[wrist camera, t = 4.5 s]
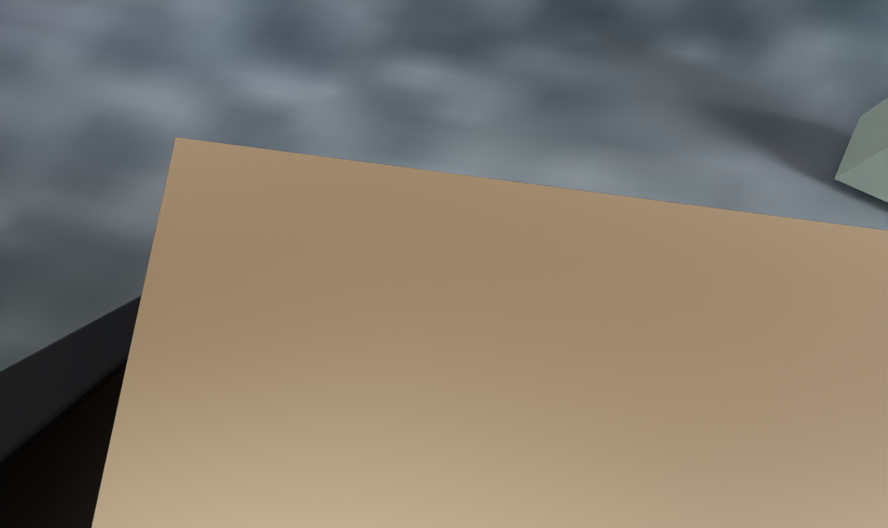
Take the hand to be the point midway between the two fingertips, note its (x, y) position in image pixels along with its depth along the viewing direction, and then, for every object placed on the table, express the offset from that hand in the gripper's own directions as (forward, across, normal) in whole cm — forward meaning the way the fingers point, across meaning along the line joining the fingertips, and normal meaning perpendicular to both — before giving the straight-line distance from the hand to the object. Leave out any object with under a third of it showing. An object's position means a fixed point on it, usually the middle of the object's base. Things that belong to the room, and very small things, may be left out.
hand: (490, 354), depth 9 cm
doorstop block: (+4, 0, +6) cm, 7 cm away
